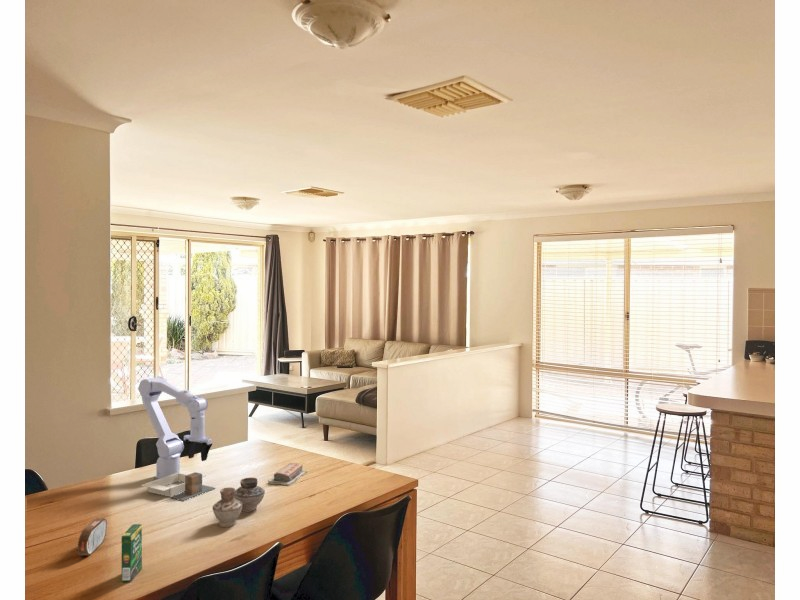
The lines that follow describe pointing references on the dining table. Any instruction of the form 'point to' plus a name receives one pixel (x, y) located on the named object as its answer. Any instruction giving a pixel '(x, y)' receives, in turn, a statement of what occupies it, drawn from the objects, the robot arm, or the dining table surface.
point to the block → (193, 483)
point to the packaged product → (288, 474)
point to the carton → (160, 487)
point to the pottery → (237, 501)
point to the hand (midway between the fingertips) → (197, 459)
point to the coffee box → (131, 552)
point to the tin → (92, 536)
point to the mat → (186, 496)
